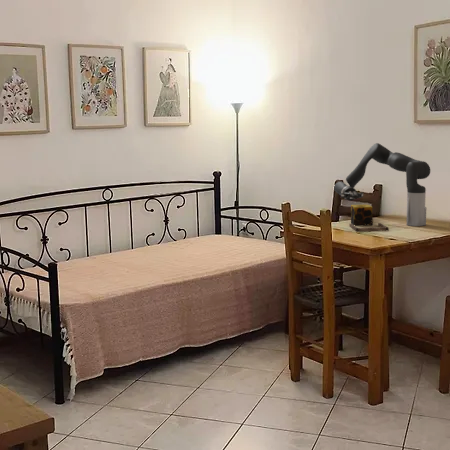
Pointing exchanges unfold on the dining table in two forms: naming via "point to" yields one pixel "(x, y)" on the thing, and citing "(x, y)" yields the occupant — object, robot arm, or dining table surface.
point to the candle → (361, 215)
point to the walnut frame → (381, 227)
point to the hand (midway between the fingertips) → (355, 197)
